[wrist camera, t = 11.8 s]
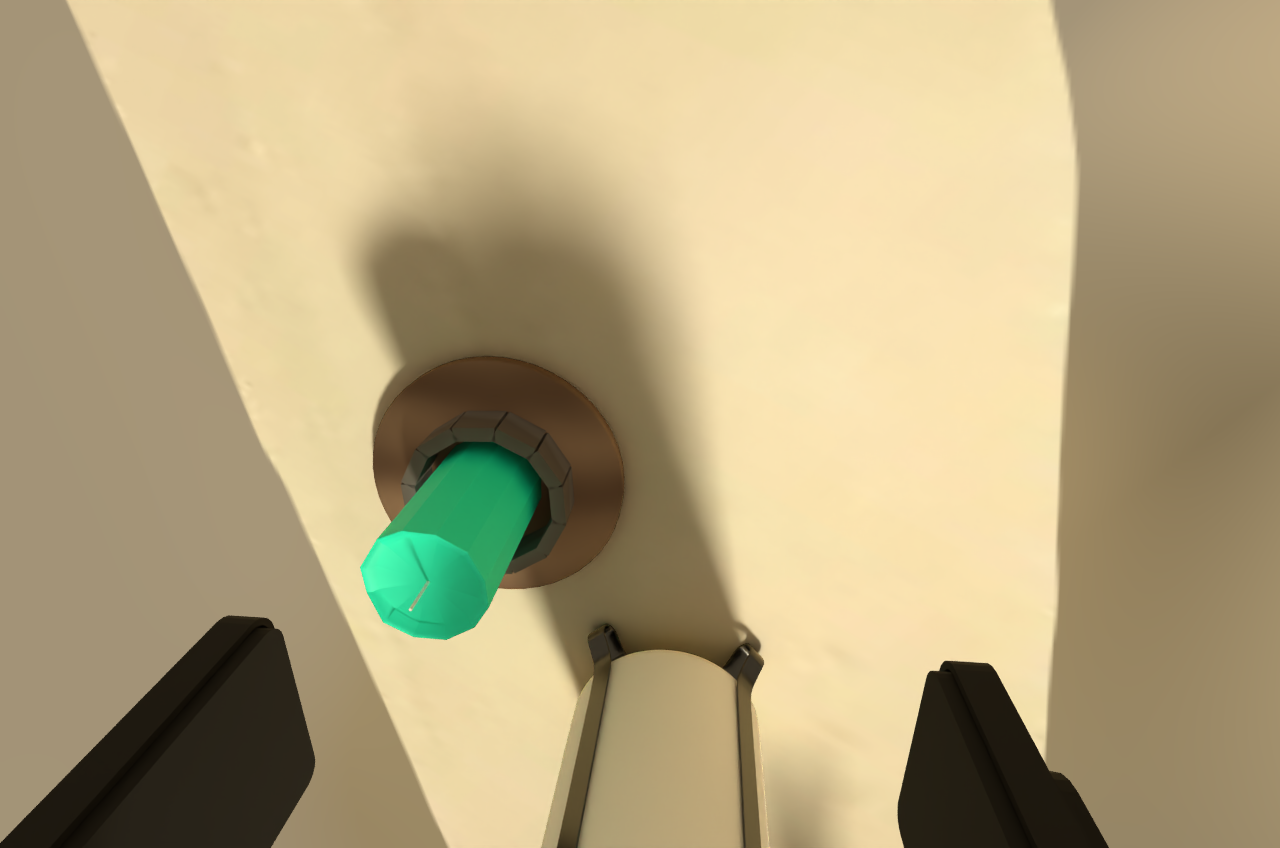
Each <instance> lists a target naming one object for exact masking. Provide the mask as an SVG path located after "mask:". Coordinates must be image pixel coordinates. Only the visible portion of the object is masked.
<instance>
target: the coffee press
mask: <svg viewBox="0 0 1280 848" xmlns="http://www.w3.org/2000/svg"><path fill="white" fill-rule="evenodd" d="M588 643H589V647H590V650H591V654H592V658H593V662H594V676H593V677H592V678H591V679H590V680H589V681H588V682H587V684H586V685H585V687H584V688H583V690H582V692H581V694H580V696H579V698H578V701H577V704H576V708H575V711H574V715H573V719H572V723H571V727H570V731H569V735H568V739H567V743H566V747H565V751H564V755H563V759H562V764H561V768H560V772H559V776H558V780H557V784H556V788H555V793H554V797H553V801H552V805H551V809H550V813H549V817H548V822H547V826H546V830H545V834H544V838H543V842H542V847H541V848H770V847H769V836H768V824H767V812H766V800H765V789H764V777H763V766H762V754H761V744H760V734H759V725H758V719H757V715H756V711H755V708H754V706H753V704H752V701H751V692H752V689H753V686H754V684H755V681H756V679H757V677H758V675H759V673H760V671H761V670H762V667H763V665H764V660H763V658H762V657H761V656H760V655H759V654H758V653H757V652H756V650H755V649H754V648H753V647H752V646H751V645H750V644H743V645H741V646H740V647H738V648H737V649H736V650H735V652H734V653H733V655H732V656H731V658H730V659H729V661H728V662H727V663H726V665H725V666H724V667H723V668H721V667H719V666H717V665H716V664H714V663H712V662H710V661H708V660H706V659H704V658H701V657H698V656H696V655H692V654H689V653H685V652H680V651H673V650H648V651H641V652H636V653H632V654H629V655H627V654H626V653H625V651H624V649H623V647H622V645H621V643H620V640H619V638H618V635H617V633H616V631H615V630H614V628H613V627H612V626H611V625H609V624H605V625H603V626H601V627H600V628H598V629H596V630H595V631H593V632H592V633H590V634H589V635H588Z"/></svg>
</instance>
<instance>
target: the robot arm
mask: <svg viewBox="0 0 1280 848" xmlns="http://www.w3.org/2000/svg"><path fill="white" fill-rule="evenodd" d="M314 767H315V756H314V752H313V748H312V744H311V740H310V736H309V733H308V729H307V725H306V721H305V717H304V714H303V710H302V706H301V702H300V699H299V694H298V691H297V687H296V683H295V679H294V675H293V671H292V668H291V664H290V660H289V656H288V652H287V648H286V645H285V641H284V637H283V634H282V632H281V631H280V630H279V629H275V628H274V626H273V624H272V622H271V621H270V620H269V619H267V618H260V617H244V616H226V617H223V618H222V619H220V620H219V621H218V622H217V623H216V624H215V625H214V626H213V627H212V628H211V629H210V630H209V631H208V632H207V633H206V634H205V635H204V636H203V637H202V638H201V639H200V640H199V641H198V642H197V643H196V644H195V645H194V646H193V647H192V648H191V649H190V650H189V651H188V652H187V653H186V654H185V655H184V656H183V657H182V658H181V659H180V660H179V661H178V662H177V663H176V664H175V665H174V667H172V668H171V669H170V670H169V671H168V672H167V673H166V675H165V676H164V677H163V678H162V679H161V680H160V681H159V682H158V683H157V684H156V685H155V686H154V687H153V688H152V689H151V690H150V691H149V692H148V693H147V694H146V695H145V696H144V697H143V698H142V699H141V700H140V701H139V702H138V703H137V704H136V705H135V706H134V707H133V708H132V709H131V710H130V711H129V712H128V713H127V714H126V715H125V716H124V717H123V718H122V720H120V721H119V722H118V723H117V724H116V726H115V727H114V728H113V729H112V730H111V731H110V732H109V733H108V734H107V735H106V736H105V737H104V738H103V739H102V740H101V741H100V742H99V743H98V744H97V745H96V746H95V747H94V748H93V749H92V750H91V751H90V752H89V753H88V754H87V755H86V756H85V757H84V758H83V759H82V760H81V761H80V762H79V763H78V764H77V765H76V766H75V767H74V768H73V769H72V770H71V771H70V773H69V774H67V776H65V778H64V779H63V780H62V781H61V782H60V783H59V784H58V785H57V786H56V787H55V788H54V789H53V790H52V791H51V792H50V793H49V794H48V795H47V796H46V797H45V798H44V799H43V800H42V801H41V802H40V803H39V804H38V805H37V806H36V807H35V808H34V809H33V810H32V811H31V812H30V813H29V814H28V815H27V816H26V817H25V818H24V819H23V820H22V821H21V822H20V823H19V824H18V825H17V827H16V828H15V829H14V830H13V831H12V832H11V833H10V834H9V835H8V836H7V837H6V838H5V839H4V840H3V841H2V842H1V843H0V848H271V846H272V845H273V843H274V841H275V840H276V838H277V836H278V835H279V833H280V831H281V830H282V828H283V826H284V825H285V823H286V821H287V820H288V818H289V816H290V815H291V813H292V811H293V810H294V808H295V806H296V805H297V803H298V801H299V800H300V798H301V796H302V795H303V793H304V791H305V790H306V788H307V786H308V785H309V783H310V780H311V778H312V775H313V771H314ZM898 824H899V830H900V834H901V838H902V841H903V845H904V848H1109V847H1108V845H1107V843H1106V842H1105V840H1104V838H1103V836H1102V835H1101V833H1100V831H1099V829H1098V827H1097V826H1096V824H1095V822H1094V820H1093V818H1092V817H1091V815H1090V813H1089V811H1088V810H1087V808H1086V806H1085V804H1084V802H1083V801H1082V799H1081V797H1080V795H1079V793H1078V792H1077V790H1076V789H1075V788H1074V786H1073V785H1072V783H1071V782H1070V780H1068V779H1067V778H1066V777H1065V776H1064V775H1062V774H1061V773H1057V772H1053V771H1049V770H1048V768H1047V766H1046V764H1045V762H1044V760H1043V758H1042V757H1041V755H1040V753H1039V751H1038V749H1037V747H1036V745H1035V743H1034V742H1033V740H1032V738H1031V736H1030V734H1029V732H1028V730H1027V729H1026V727H1025V725H1024V723H1023V721H1022V719H1021V717H1020V715H1019V714H1018V712H1017V710H1016V708H1015V706H1014V704H1013V702H1012V701H1011V699H1010V697H1009V695H1008V693H1007V691H1006V689H1005V687H1004V686H1003V684H1002V682H1001V680H1000V678H999V676H998V674H997V673H996V671H995V670H994V668H993V667H992V666H991V665H990V664H988V663H974V662H958V661H944V662H943V663H942V665H941V667H940V670H939V671H930V672H929V673H928V675H927V678H926V682H925V686H924V691H923V695H922V700H921V704H920V708H919V713H918V717H917V722H916V726H915V730H914V735H913V739H912V744H911V748H910V752H909V757H908V761H907V766H906V770H905V774H904V779H903V783H902V788H901V792H900V796H899V801H898Z"/></svg>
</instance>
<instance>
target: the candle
mask: <svg viewBox="0 0 1280 848" xmlns="http://www.w3.org/2000/svg"><path fill="white" fill-rule="evenodd" d="M540 499H541V478H540V476H539V475H538V473H537V472H536V471H535V469H534V468H533V467H532V465H531V464H530V462H529V461H528V460H527V459H525V458H524V457H522V456H520V455H518V454H516V453H514V452H512V451H510V450H508V449H506V448H504V447H502V446H500V445H498V444H496V443H494V442H463V443H461V444H458V445H456V446H455V447H454V448H453V450H452V451H451V452H450V453H449V454H448V455H447V457H446V458H445V459H444V460H443V461H442V463H441V464H440V465H439V466H438V467H437V469H436V470H435V471H434V472H433V473H432V475H431V476H430V477H429V478H428V479H427V480H426V482H425V483H424V484H423V485H422V486H421V488H420V489H419V490H418V491H417V492H416V494H415V495H414V496H413V497H412V498H411V500H410V501H409V502H408V503H407V504H406V505H405V507H404V508H403V509H402V510H401V511H400V513H399V514H398V515H397V516H396V517H395V519H394V520H393V521H392V522H391V523H390V525H389V526H388V527H387V528H386V529H385V530H384V532H383V533H382V534H381V535H380V536H379V538H378V539H377V540H376V542H375V544H374V545H373V547H372V549H371V550H370V552H369V554H368V555H367V557H366V559H365V560H364V562H363V564H362V565H361V567H360V568H361V572H362V576H363V580H364V584H365V587H366V591H367V594H368V596H369V597H370V599H371V601H372V603H373V605H374V606H375V608H376V610H377V612H378V614H379V616H380V617H381V619H382V621H383V622H384V623H386V624H388V625H390V626H392V627H394V628H396V629H398V630H400V631H402V632H404V633H406V634H408V635H411V636H413V637H419V638H431V639H443V640H447V639H449V638H452V637H454V636H456V635H458V634H461V633H463V632H465V631H467V630H470V629H472V628H474V627H475V626H476V625H477V623H478V622H479V620H480V619H481V618H482V616H483V615H484V613H485V612H486V610H487V609H488V608H489V606H490V604H491V602H492V599H493V597H494V595H495V593H496V591H497V589H498V587H499V585H500V583H501V581H502V578H503V576H504V574H505V572H506V570H507V568H508V566H509V564H510V562H511V560H512V558H513V555H514V553H515V551H516V549H517V547H518V545H519V543H520V541H521V539H522V537H523V534H524V532H525V530H526V528H527V526H528V524H529V522H530V520H531V518H532V516H533V514H534V511H535V509H536V507H537V505H538V503H539V501H540Z"/></svg>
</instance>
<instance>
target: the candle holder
mask: <svg viewBox="0 0 1280 848" xmlns="http://www.w3.org/2000/svg"><path fill="white" fill-rule="evenodd" d="M463 442H494V443H496V444H498V445H500V446H502V447H504V448H506V449H508V450H510V451H512V452H514V453H516V454H518V455H520V456H522V457H524V458H525V459H527V460H528V461H529V462H530V464H531V465H532V467H533V468H534V469H535V471H536V472H537V473H538V475H539V476H540V478H541V499H540V501H539V503H538V505H537V507H536V509H535V511H534V514H533V516H532V518H531V520H530V522H529V524H528V526H527V528H526V530H525V532H524V534H523V537H522V539H521V541H520V543H519V545H518V547H517V549H516V551H515V553H514V555H513V558H512V560H511V562H510V564H509V566H508V568H507V570H506V572H505V574H504V576H503V578H502V581H501V583H500V585H499V587H498V588H503V589H526V588H533V587H540V586H544V585H547V584H551V583H554V582H557V581H559V580H562V579H564V578H567V577H569V576H570V575H572V574H574V573H576V572H577V571H579V570H580V569H582V568H583V567H584V566H586V565H587V564H588V563H590V562H591V561H592V560H593V559H594V558H595V557H596V556H597V555H598V554H599V553H600V551H601V550H602V549H603V547H604V546H605V545H606V543H607V542H608V540H609V538H610V536H611V535H612V533H613V531H614V529H615V526H616V523H617V520H618V517H619V514H620V510H621V506H622V500H623V495H624V471H623V462H622V459H621V455H620V451H619V447H618V445H617V443H616V440H615V438H614V435H613V433H612V431H611V430H610V428H609V426H608V424H607V423H606V421H605V419H604V418H603V417H602V415H601V414H600V413H599V411H598V410H597V409H596V407H595V406H594V405H593V404H592V403H591V402H590V401H589V400H588V399H587V398H586V397H585V396H584V395H583V394H582V393H581V392H580V391H578V390H577V389H576V388H575V387H573V386H572V385H571V384H570V383H568V382H567V381H565V380H564V379H562V378H560V377H559V376H557V375H555V374H554V373H552V372H550V371H547V370H545V369H543V368H541V367H539V366H536V365H533V364H530V363H527V362H523V361H520V360H515V359H510V358H504V357H489V356H484V357H470V358H465V359H460V360H455V361H452V362H449V363H446V364H443V365H440V366H438V367H436V368H434V369H432V370H430V371H429V372H427V373H425V374H423V375H422V376H421V377H419V378H418V379H417V380H415V381H414V382H413V383H411V384H410V385H409V386H408V387H406V388H405V389H404V390H403V391H402V392H401V393H400V394H399V395H398V396H397V397H396V398H395V400H394V401H393V402H392V404H391V405H390V407H389V408H388V409H387V411H386V413H385V415H384V417H383V419H382V421H381V423H380V425H379V428H378V431H377V435H376V438H375V444H374V450H373V470H374V478H375V483H376V487H377V491H378V494H379V497H380V500H381V502H382V505H383V507H384V509H385V511H386V513H387V515H388V517H389V518H390V520H391V522H392V521H393V520H394V519H395V517H396V516H397V515H398V514H399V513H400V511H401V510H402V509H403V508H404V507H405V505H406V504H407V503H408V502H409V501H410V500H411V498H412V497H413V496H414V495H415V494H416V492H417V491H418V490H419V489H420V488H421V486H422V485H423V484H424V483H425V482H426V480H427V479H428V478H429V477H430V476H431V475H432V473H433V472H434V471H435V470H436V469H437V467H438V466H439V465H440V464H441V463H442V461H443V460H444V459H445V458H446V457H447V455H448V454H449V453H450V452H451V451H452V450H453V448H454V447H455V446H456V445H458V444H461V443H463Z"/></svg>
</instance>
